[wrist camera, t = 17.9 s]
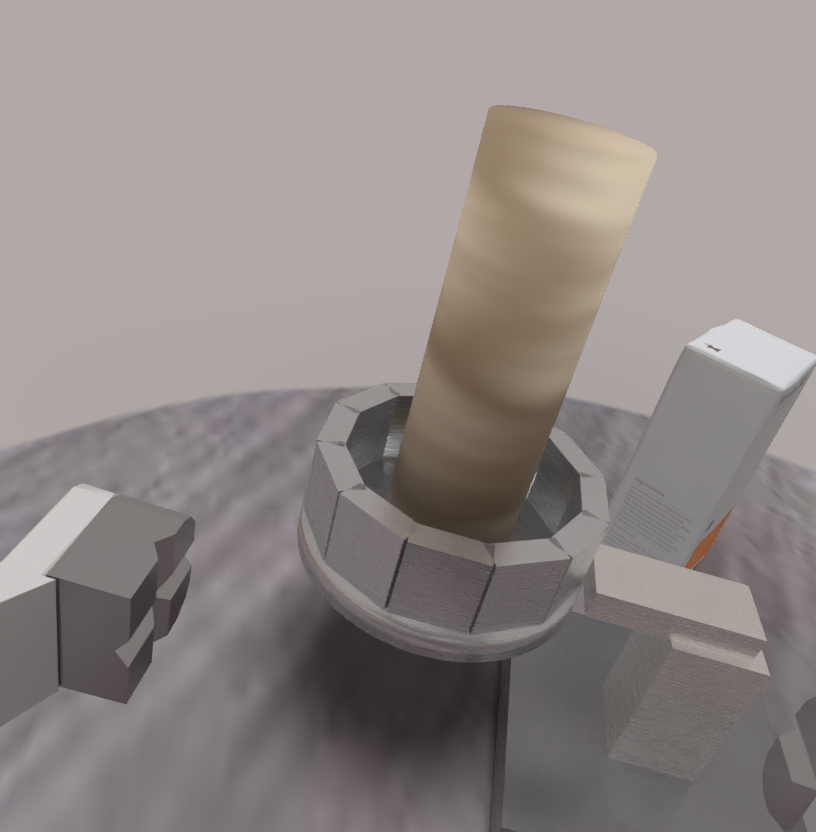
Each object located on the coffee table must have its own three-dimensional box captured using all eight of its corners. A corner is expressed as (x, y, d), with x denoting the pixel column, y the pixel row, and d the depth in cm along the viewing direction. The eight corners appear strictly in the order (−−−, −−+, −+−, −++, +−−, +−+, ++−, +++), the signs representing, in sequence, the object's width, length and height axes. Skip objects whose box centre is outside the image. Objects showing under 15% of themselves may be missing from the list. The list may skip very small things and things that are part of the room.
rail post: (510, 503, 25) (647, 137, 19) (504, 584, 22) (668, 172, 16) (395, 471, 25) (494, 96, 19) (371, 547, 22) (482, 122, 16)
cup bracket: (734, 686, 32) (868, 491, 26) (803, 947, 23) (1023, 737, 18) (311, 564, 32) (357, 349, 27) (224, 776, 24) (266, 521, 18)
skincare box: (660, 612, 35) (784, 391, 28) (581, 558, 37) (681, 340, 30) (707, 558, 39) (824, 356, 33) (635, 512, 41) (732, 314, 35)
